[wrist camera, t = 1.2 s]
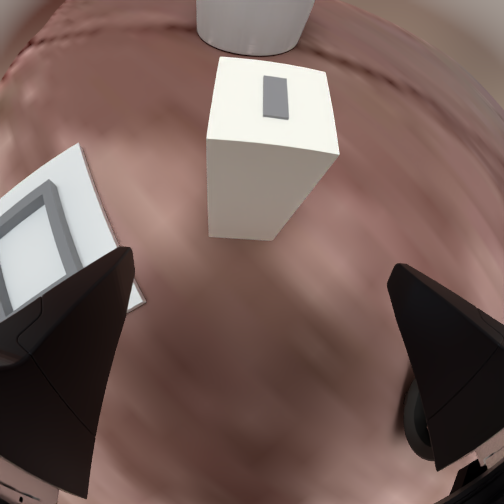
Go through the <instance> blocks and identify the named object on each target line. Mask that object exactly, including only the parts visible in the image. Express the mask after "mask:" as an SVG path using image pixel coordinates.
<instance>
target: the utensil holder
mask: <svg viewBox="0 0 504 504" xmlns="http://www.w3.org/2000/svg"><path fill="white" fill-rule="evenodd" d="M314 2H315V0H196V6H197V32H198V34H199V36H200V37H201V38H202V39H203V40H204V41H205V42H206V43H208V44H210V45H212V46H214V47H216V48H218V49H221V50H224V51H228V52H232V53H237V54H244V55H255V56H267V55H275V54H280V53H284V52H286V51H289V50H291V49H292V48H293V47H295V46H296V44H297V43H298V40H299V38H300V36H301V33H302V31H303V28H304V26H305V24H306V22H307V19H308V17H309V14H310V12H311V9H312V7H313V4H314Z"/></svg>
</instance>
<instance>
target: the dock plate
mask: <svg viewBox="0 0 504 504" xmlns="http://www.w3.org/2000/svg"><path fill="white" fill-rule="evenodd" d="M117 247H120V246H119V244H118V242H117V240H116V237H115V235H114V233H113V230H112V228H111V225H110V223H109V221H108V218H107V216H106V213H105V211H104V208H103V206H102V203H101V200H100V198H99V195H98V192H97V190H96V187H95V184H94V181H93V179H92V176H91V173H90V170H89V167H88V164H87V161H86V158H85V155H84V152H83V149H82V147H81V146H80V144H79V143H77V144H75V145H74V146H72V147H70V148H69V149H67V150H66V151H64V152H63V153H61V154H60V155H58V156H56V157H55V158H53V159H52V160H51V161H49V162H48V163H46V164H45V165H43V166H42V167H40V168H39V169H38V170H36V171H35V172H34V173H32V174H31V175H29V176H28V177H27V178H26V179H24V180H23V181H22V182H20V183H19V184H18V185H17V186H15V187H14V188H13V189H12V190H10V191H9V192H8V193H7V194H5V195H4V196H3V197H2V198H1V199H0V322H2V321H4V320H5V319H7V318H8V317H10V316H12V315H13V314H15V313H16V312H18V311H20V310H21V309H22V308H24V307H25V306H27V305H28V304H30V303H31V302H33V301H34V300H36V299H37V298H38V297H40V296H41V297H42V295H43V294H44V293H46V292H47V291H49V290H50V289H52V288H53V287H55V286H56V285H58V284H59V283H61V282H62V281H64V280H65V279H67V278H69V277H70V276H72V275H73V274H75V273H76V272H78V271H80V270H81V269H83V268H84V267H86V266H87V265H89V264H91V263H92V262H94V261H96V260H97V259H99V258H100V257H102V256H104V255H105V254H107V253H109V252H110V251H112V250H114V249H115V248H117ZM144 303H146V300H145V298H144V296H143V294H142V292H141V290H140V288H139V286H138V284H137V282H136V280H135V278H134V280H133V285H132V290H131V294H130V299H129V304H128V309H127V313H128V312H130V311H132V310H134V309H135V308H137V307H139V306H141V305H142V304H144Z"/></svg>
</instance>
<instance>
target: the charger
mask: <svg viewBox="0 0 504 504" xmlns="http://www.w3.org/2000/svg"><path fill="white" fill-rule="evenodd" d="M206 150H207V200H208V229H209V237H218V238H233V239H249V240H264V241H273V239H274V238H275V237H276V236H277V234H278V233H279V232H280V231H281V229H282V228H283V227H284V225H285V224H286V223H287V222H288V220H289V219H290V218H291V217H292V215H293V214H294V213H295V211H296V210H297V209H298V208H299V206H300V205H301V204H302V202H303V201H304V200H305V199H306V197H307V196H308V195H309V193H310V192H311V191H312V190H313V188H314V187H315V186H316V184H317V183H318V182H319V181H320V179H321V178H322V177H323V175H324V174H325V173H326V172H327V170H328V169H329V168H330V166H331V165H332V164H333V162H334V161H335V160H336V159H337V157H338V156H339V148H338V141H337V134H336V127H335V121H334V115H333V109H332V104H331V98H330V93H329V88H328V83H327V78H326V73H325V72H322V71H318V70H313V69H309V68H304V67H299V66H293V65H288V64H282V63H275V62H268V61H261V60H252V59H243V58H231V57H220V59H219V64H218V70H217V75H216V81H215V87H214V93H213V99H212V105H211V111H210V118H209V124H208V131H207V138H206Z"/></svg>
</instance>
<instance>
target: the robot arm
mask: <svg viewBox="0 0 504 504" xmlns="http://www.w3.org/2000/svg"><path fill="white" fill-rule="evenodd" d="M134 276H135V267H134V260H133V252H132V249H131V248H130V247H122V246H120V247H117V248H115V249H114V250H112V251H110V252H109V253H107V254H105V255H104V256H102V257H100V258H99V259H97V260H96V261H94V262H92V263H91V264H89V265H87V266H86V267H84V268H83V269H81V270H80V271H78V272H76V273H75V274H73V275H72V276H70V277H69V278H67V279H65V280H64V281H62V282H61V283H59V284H58V285H56V286H55V287H53V288H52V289H50V290H49V291H47V292H46V293H44V294H43V295H42V297H41V296H40V297H38V298H37V299H36V300H34V301H33V302H31V303H30V304H28V305H27V306H25V307H24V308H22V309H21V310H20V311H18V312H16V313H15V314H13V315H12V316H10V317H8V318H7V319H5V320H4V321H2V322H0V504H57V501H58V494H59V490H61V491H64V492H66V493H69V494H72V495H75V496H78V497H81V498H84V499H87V495H88V486H89V477H90V469H91V462H92V456H93V449H94V444H95V436H96V432H97V426H98V421H99V416H100V412H101V407H102V402H103V398H104V394H105V390H106V385H107V381H108V377H109V373H110V370H111V366H112V362H113V358H114V355H115V351H116V348H117V344H118V341H119V338H120V334H121V331H122V328H123V324H124V321H125V318H126V314H127V309H128V304H129V299H130V294H131V290H132V285H133V280H134ZM387 288H388V292H389V295H390V299H391V302H392V306H393V310H394V313H395V317H396V321H397V324H398V327H399V330H400V332H401V335H402V338H403V341H404V344H405V347H406V350H407V353H408V356H409V359H410V362H411V366H412V369H413V372H414V375H415V379H416V382H417V386H418V389H419V393H420V397H421V400H422V404H423V408H424V412H425V416H426V420H427V426H428V430H429V435H430V440H431V444H432V450H433V455H434V461H435V467H436V470H437V472H438V471H440V470H442V469H444V468H445V467H447V466H449V465H451V464H453V463H455V462H457V461H458V460H460V459H462V458H463V457H465V456H467V455H469V454H470V453H472V452H473V451H475V452H476V455H477V458H478V459H476V460H475V461H473V462H472V463H470V464H468V465H467V466H465V467H464V468H462V469H460V470H459V471H458V473H457V476H456V479H455V482H454V485H453V487H452V490H451V492H450V495H449V496H447V497H445V498H444V499H442V500H440V501H438V502H436V503H435V504H504V325H503V324H501V323H500V322H498V321H497V320H495V319H494V318H492V317H491V316H489V315H487V314H486V313H484V312H483V311H481V310H480V309H478V308H476V307H475V306H474V305H472V304H471V303H469V302H468V301H466V300H465V299H463V298H462V297H460V296H458V295H457V294H455V293H454V292H452V291H451V290H449V289H447V288H446V287H444V286H442V285H441V284H439V283H438V282H436V281H434V280H433V279H431V278H429V277H428V276H426V275H424V274H423V273H421V272H419V271H418V270H416V269H414V268H413V267H411V266H409V265H407V264H403V263H397V264H396V265H395V266H394V268H393V270H392V273H391V275H390V277H389V279H388V282H387Z"/></svg>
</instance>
